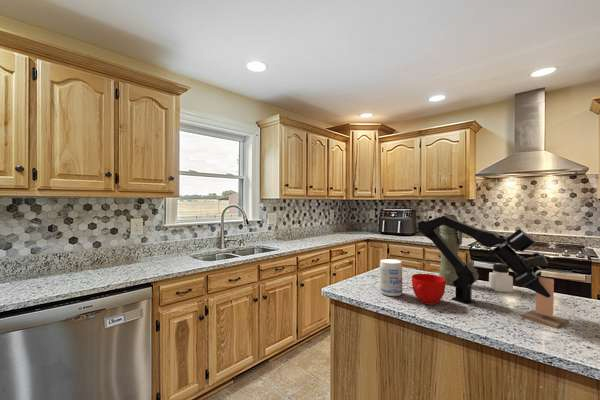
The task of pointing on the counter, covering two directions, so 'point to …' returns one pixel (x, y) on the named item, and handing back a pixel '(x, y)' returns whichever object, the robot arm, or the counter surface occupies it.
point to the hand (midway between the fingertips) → (549, 295)
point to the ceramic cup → (428, 287)
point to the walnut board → (545, 319)
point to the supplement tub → (391, 277)
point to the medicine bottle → (501, 279)
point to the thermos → (454, 242)
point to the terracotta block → (542, 302)
